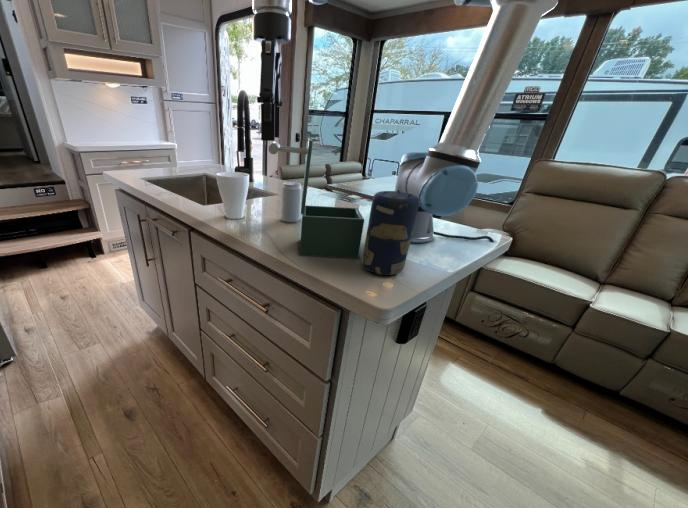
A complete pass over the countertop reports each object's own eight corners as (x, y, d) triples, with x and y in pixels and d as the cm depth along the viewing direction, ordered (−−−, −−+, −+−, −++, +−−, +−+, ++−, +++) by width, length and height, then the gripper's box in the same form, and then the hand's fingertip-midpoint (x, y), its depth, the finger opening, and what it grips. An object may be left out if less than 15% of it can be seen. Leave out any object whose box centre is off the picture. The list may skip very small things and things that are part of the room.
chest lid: (312, 138, 76) (272, 134, 76) (312, 141, 66) (268, 136, 66) (304, 203, 84) (268, 199, 84) (304, 214, 74) (264, 210, 74)
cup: (222, 211, 112) (220, 171, 105) (252, 213, 111) (251, 172, 105) (215, 220, 102) (212, 176, 96) (247, 221, 102) (246, 177, 96)
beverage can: (298, 224, 102) (300, 185, 96) (278, 222, 103) (279, 183, 97) (301, 219, 108) (303, 182, 102) (283, 217, 109) (284, 180, 103)
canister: (409, 269, 74) (430, 190, 65) (391, 282, 68) (411, 196, 59) (373, 258, 79) (387, 183, 70) (353, 268, 73) (365, 188, 64)
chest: (352, 243, 88) (357, 208, 84) (358, 258, 79) (364, 219, 74) (300, 240, 89) (302, 205, 84) (299, 255, 79) (302, 216, 74)
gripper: (260, 30, 72) (261, 135, 82) (240, -8, 50) (245, 141, 61) (293, 31, 72) (289, 136, 82) (287, -7, 50) (284, 142, 61)
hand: (271, 139), depth 71 cm, fingers open, 13 cm apart
